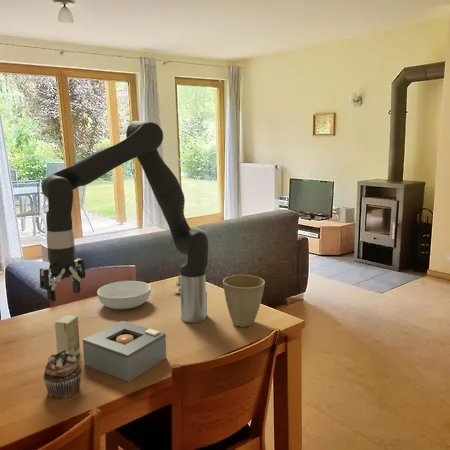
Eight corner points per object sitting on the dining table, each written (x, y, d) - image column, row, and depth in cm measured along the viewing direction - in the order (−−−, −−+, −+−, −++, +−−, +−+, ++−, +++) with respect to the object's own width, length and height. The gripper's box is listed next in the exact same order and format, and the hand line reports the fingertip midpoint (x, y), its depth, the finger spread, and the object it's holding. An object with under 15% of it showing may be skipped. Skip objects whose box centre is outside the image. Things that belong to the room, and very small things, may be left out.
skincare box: (70, 362, 133) (67, 323, 131) (57, 360, 134) (53, 322, 132) (81, 352, 140) (78, 315, 137) (68, 350, 141) (65, 314, 138)
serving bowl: (126, 292, 193) (126, 277, 191) (162, 302, 181) (161, 286, 179) (86, 307, 176) (85, 290, 175) (122, 319, 164) (122, 302, 163)
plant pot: (253, 335, 151) (253, 290, 148) (215, 326, 158) (215, 283, 155) (270, 319, 164) (271, 278, 161) (235, 312, 171) (235, 272, 168)
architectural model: (183, 297, 188) (183, 280, 187) (171, 293, 192) (171, 277, 191) (188, 294, 191) (188, 278, 190) (176, 291, 195) (176, 275, 194)
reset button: (125, 345, 137) (124, 332, 136) (137, 349, 134) (136, 336, 133) (113, 351, 132) (112, 339, 132) (125, 356, 130) (124, 343, 129)
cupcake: (36, 393, 117) (33, 358, 115) (66, 376, 125) (64, 343, 123) (60, 404, 112) (57, 368, 110) (90, 386, 120) (88, 352, 119)
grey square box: (123, 343, 145) (122, 318, 144) (166, 358, 136) (165, 331, 134) (84, 364, 132) (82, 337, 130) (128, 382, 123) (127, 353, 121)
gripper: (48, 251, 122) (52, 307, 125) (89, 241, 134) (92, 292, 137) (31, 248, 126) (35, 302, 129) (72, 238, 138) (75, 288, 141)
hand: (64, 297), depth 133 cm, fingers open, 8 cm apart
